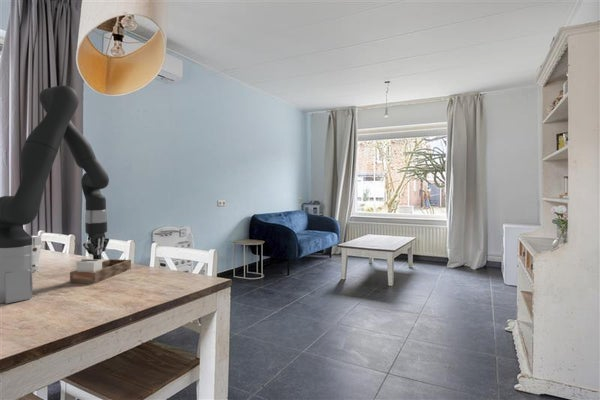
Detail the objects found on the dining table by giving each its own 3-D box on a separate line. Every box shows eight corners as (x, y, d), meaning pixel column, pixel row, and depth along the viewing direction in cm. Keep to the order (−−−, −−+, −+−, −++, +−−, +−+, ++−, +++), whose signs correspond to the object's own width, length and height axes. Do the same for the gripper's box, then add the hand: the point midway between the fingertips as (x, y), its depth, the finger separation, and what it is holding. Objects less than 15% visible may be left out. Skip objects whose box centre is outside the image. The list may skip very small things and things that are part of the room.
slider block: (85, 274, 134) (85, 258, 133) (102, 274, 133) (102, 258, 133) (76, 277, 129) (76, 260, 128) (93, 277, 128) (93, 261, 128)
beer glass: (16, 272, 141) (15, 237, 141) (33, 268, 148) (33, 235, 147) (28, 273, 139) (27, 238, 139) (45, 270, 146) (44, 235, 145)
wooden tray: (109, 268, 151) (109, 259, 151) (130, 268, 151) (130, 259, 151) (70, 282, 127) (69, 272, 127) (95, 283, 127) (95, 272, 127)
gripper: (98, 219, 141) (99, 259, 142) (75, 222, 128) (76, 267, 129) (115, 219, 141) (116, 260, 142) (94, 223, 127) (95, 268, 128)
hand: (97, 263), depth 135 cm, fingers closed
